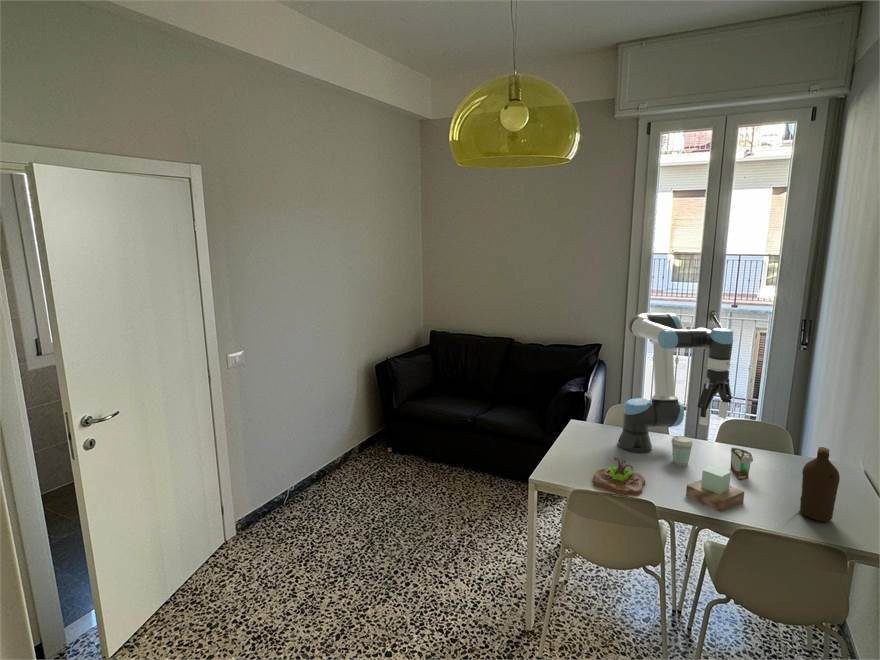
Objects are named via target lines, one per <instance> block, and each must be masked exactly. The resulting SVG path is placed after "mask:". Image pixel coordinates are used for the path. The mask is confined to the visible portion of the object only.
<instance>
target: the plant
mask: <svg viewBox="0 0 880 660" xmlns="http://www.w3.org/2000/svg"><path fill="white" fill-rule="evenodd" d="M616 460H617V465H618V466H616V465H614V466H613V467H611V466H608V465H607V467H604V468H600V469H599V470H596V472H595V473H594V474H593V479H592V480H593V486H594V487H597V488H599V489H603V490H606V491H609V492H613V493H615V494H617V495H622V496H629V495H632V496H635V497H637V496H640V495H641V494H642V493H643V488H644V486H646V479H645V477H643V476H642V475H641V474H640V473H635V472H634V471H635V468H634V467H633V466H632V465H631V464H627V460H625V459H624V460H622V461H621V460H620V459H619V458H618V457H615V456H614V457H612V458H611V461H612V462H615V461H616ZM627 467H630V470H628V469H627Z"/></svg>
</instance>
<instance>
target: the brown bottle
mask: <svg viewBox="0 0 880 660" xmlns="http://www.w3.org/2000/svg"><path fill="white" fill-rule="evenodd" d="M816 452H817V453H816V457H815V458H814V459H811V460H810V461H808V462H806V463H805V464H804V466H803V467H802V470H801V471H802V472H801V491H800V503H799V504H800V506H799V512H800V513H801V514H802V515H804V516H805V517H808V518H810V519H813V520H816V521H823V522H827V521H832V520H833V515H834V509H835V504H836V500H837V495H838V494H837V493H838V490H839V489H838V488H839V486H840V485H839V484H840V473H839V470H838V469H837V467H836V466H835V464H833V463H832V462H831V461H830V448H827V447H824V446H820V447H819V446H818V448H817V451H816Z"/></svg>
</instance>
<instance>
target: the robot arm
mask: <svg viewBox="0 0 880 660" xmlns="http://www.w3.org/2000/svg"><path fill="white" fill-rule="evenodd" d="M628 330H629V332H630V333H631V335H633V336H634V337H636V338H639V339H640V338H641V339H642V338H644V339H648V340H649V342H650V343H651V344H652V346H653V349H652V350H653V374H654V375H653V380H654V383H653V384H654V395H653V396H652V397H651V401H650V400H649V399H647V398H640V397H639V398H638V397H637V398H630V399H628V400H626V401H625V402H624V404H623V410H622V412H623V415H622V431H621V434H620V435H619V438H618V441H617V446H618V447H619V449H621V450H623V451H625V452H628V453H633V454H639V455H640V454H641V455H642V454H648V453H650V452H651V451H652V449H653V447H652V446H653V445H652V441H651V437H650V434H649V433H650V431H649V430H650V428H665V427H666V428H672V427H673V428H674V427H678V426H680V425H681V423H682V422H683V420H684V417H685V409H684V406H683V404H682V403H681V402H680V401H679V398H678V397H677V396H676V395H675V369H674V368H675V366H674V349H705V350H707V351H708V356H707V357H708V359H707V365H706V366H707V368H706V378H707V379H708V380H709V383H708V382H704V384H703V389H702V391H701V395H700V397H699V401H698V402H697V403H698V404H697V406H696V407H697V408H699V409H700V415H699V425H701V426H702V425H703V426H706V427H707V426H708V421H709V413H710V412H709V407H710V405H711V402H712V400H713V399H714V397H715V396H716V395H717V394H718V395H719V397H720V398H719V399H721V400H720V401H719V407H718V418H722V419H727V413H728V407H729V406H728V404H729V403H731V402H732V398H733V397H732V393H731V386H730V369H731V365H732V362H731V359H732V351H733V344H734V343H733V342H734V331H733V330H731V329H730V328H729V329H728V328H723V327H716V328H715V327H714V328H712V329H710V328H706V327H697V328H695V329H682V323H681V320H680V318H679V317H678V316H677V314H675V313H673V312H643V313H638V314H635V315H634V316H633V317H631V318H630V320H629V322H628Z"/></svg>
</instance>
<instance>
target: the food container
mask: <svg viewBox="0 0 880 660" xmlns="http://www.w3.org/2000/svg"><path fill="white" fill-rule="evenodd" d="M753 458H754V457H753V454H752V453H751V452H750V451H748V450H745V449H742V448H738V447H731V449H730V470H731V472H732V473H733V474H735V475H734V476H735V477H736V479H737V480H738V481H745V480H747V479H749V475H750V469H751V465H752V463H753V462H754V459H753Z"/></svg>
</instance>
